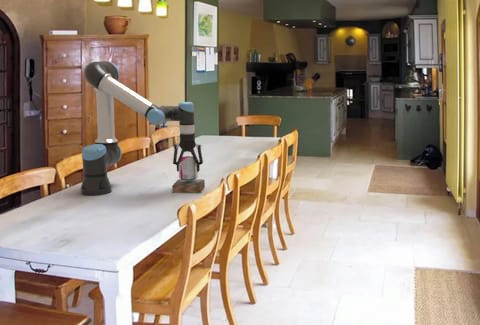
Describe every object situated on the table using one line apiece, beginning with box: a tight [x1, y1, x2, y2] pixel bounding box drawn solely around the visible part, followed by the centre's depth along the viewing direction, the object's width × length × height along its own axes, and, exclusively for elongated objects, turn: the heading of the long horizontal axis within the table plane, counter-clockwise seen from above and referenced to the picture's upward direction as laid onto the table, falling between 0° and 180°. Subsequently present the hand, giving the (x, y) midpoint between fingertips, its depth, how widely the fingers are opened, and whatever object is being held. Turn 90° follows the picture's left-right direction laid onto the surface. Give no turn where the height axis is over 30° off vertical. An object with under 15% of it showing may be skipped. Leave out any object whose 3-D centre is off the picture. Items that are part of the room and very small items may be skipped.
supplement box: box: [180, 155, 197, 181], centre depth 291 cm, size 6×6×12 cm
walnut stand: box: [171, 178, 206, 194], centre depth 293 cm, size 14×14×4 cm
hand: (188, 177), depth 292 cm, fingers closed on supplement box, 8 cm apart
